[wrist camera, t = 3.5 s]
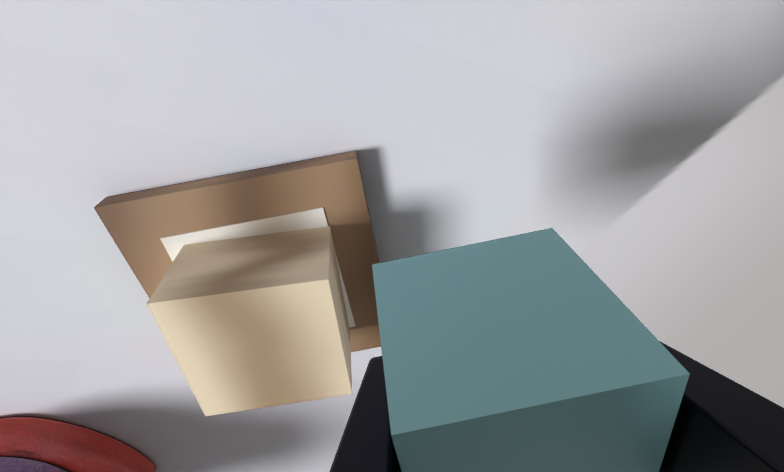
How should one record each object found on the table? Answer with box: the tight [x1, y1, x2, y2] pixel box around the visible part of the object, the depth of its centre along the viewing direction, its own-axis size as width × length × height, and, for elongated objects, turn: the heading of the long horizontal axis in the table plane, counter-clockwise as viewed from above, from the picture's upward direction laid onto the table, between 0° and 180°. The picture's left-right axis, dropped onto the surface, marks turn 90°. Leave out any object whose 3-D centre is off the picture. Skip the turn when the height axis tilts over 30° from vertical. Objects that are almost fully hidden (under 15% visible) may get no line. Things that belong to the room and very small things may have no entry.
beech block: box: [147, 226, 352, 416], centre depth 18 cm, size 6×6×4 cm
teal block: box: [372, 228, 690, 472], centre depth 9 cm, size 4×4×4 cm
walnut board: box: [94, 151, 381, 352], centre depth 20 cm, size 11×11×1 cm
